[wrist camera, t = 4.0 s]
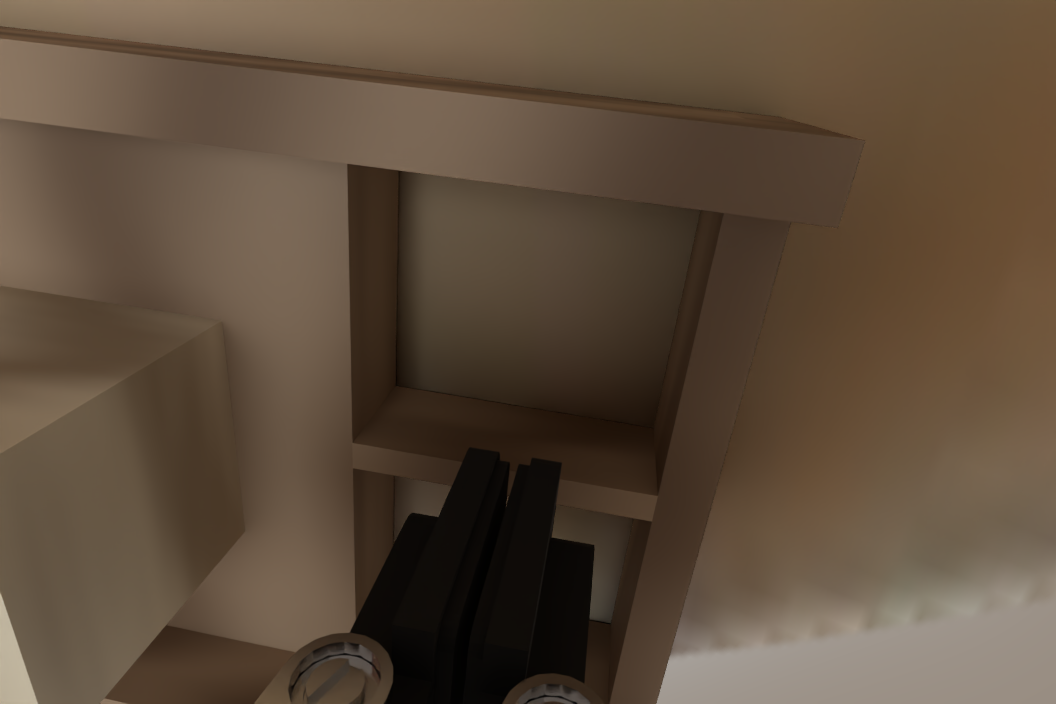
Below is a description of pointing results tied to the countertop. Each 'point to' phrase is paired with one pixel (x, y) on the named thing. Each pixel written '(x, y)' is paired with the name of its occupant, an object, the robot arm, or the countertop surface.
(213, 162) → the wooden tray
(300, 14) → the countertop surface
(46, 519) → the beech block
